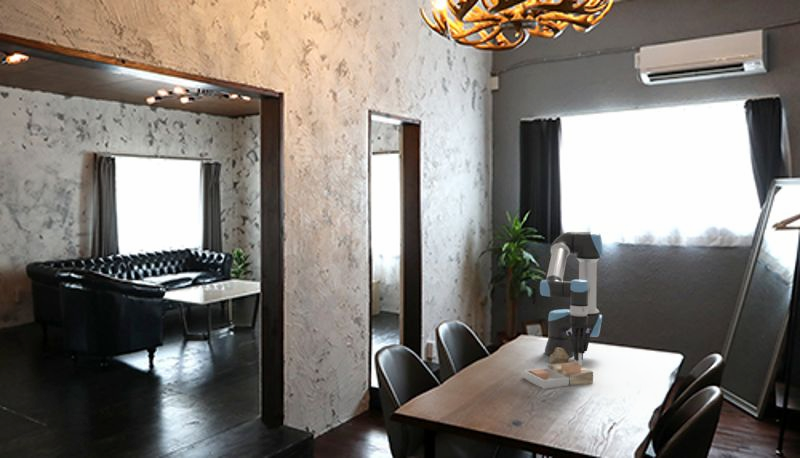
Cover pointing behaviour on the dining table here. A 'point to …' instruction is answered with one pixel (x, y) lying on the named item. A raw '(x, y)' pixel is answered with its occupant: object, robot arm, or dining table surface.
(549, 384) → the box
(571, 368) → the tile
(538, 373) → the tile
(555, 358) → the rock
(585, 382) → the board
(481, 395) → the dining table surface
